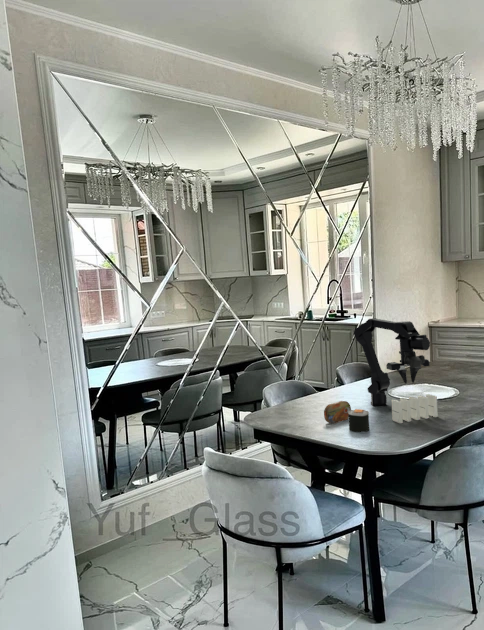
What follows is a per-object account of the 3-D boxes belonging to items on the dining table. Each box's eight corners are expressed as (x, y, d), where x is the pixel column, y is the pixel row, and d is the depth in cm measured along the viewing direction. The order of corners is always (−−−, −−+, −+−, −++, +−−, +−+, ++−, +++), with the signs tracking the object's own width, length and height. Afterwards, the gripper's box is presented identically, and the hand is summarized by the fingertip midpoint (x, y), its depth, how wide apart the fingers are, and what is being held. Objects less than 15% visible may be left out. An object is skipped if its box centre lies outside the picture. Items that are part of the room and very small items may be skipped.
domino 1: (399, 423, 204) (398, 402, 203) (392, 420, 209) (391, 399, 208) (402, 422, 205) (401, 401, 204) (395, 419, 209) (394, 399, 209)
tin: (328, 425, 207) (327, 406, 207) (323, 424, 210) (322, 405, 209) (352, 418, 216) (351, 399, 215) (346, 417, 219) (345, 398, 218)
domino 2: (408, 421, 206) (407, 400, 205) (400, 418, 210) (399, 398, 210) (411, 421, 206) (410, 400, 206) (404, 418, 211) (403, 398, 210)
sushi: (350, 426, 205) (349, 407, 204) (370, 427, 202) (369, 408, 201) (347, 431, 197) (346, 412, 197) (368, 432, 194) (367, 413, 194)
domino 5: (434, 417, 210) (433, 396, 209) (426, 414, 214) (426, 394, 214) (437, 416, 210) (436, 396, 210) (429, 414, 215) (429, 394, 214)
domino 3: (416, 420, 207) (416, 399, 206) (409, 417, 212) (408, 397, 211) (420, 419, 207) (419, 399, 207) (412, 416, 212) (412, 396, 212)
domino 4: (425, 418, 208) (425, 398, 208) (418, 415, 213) (417, 395, 212) (428, 418, 209) (428, 397, 208) (421, 415, 214) (420, 395, 213)
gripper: (396, 353, 211) (399, 388, 211) (435, 348, 214) (438, 383, 215) (384, 350, 222) (387, 384, 222) (421, 346, 225) (424, 379, 226)
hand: (409, 383), depth 221 cm, fingers open, 3 cm apart
